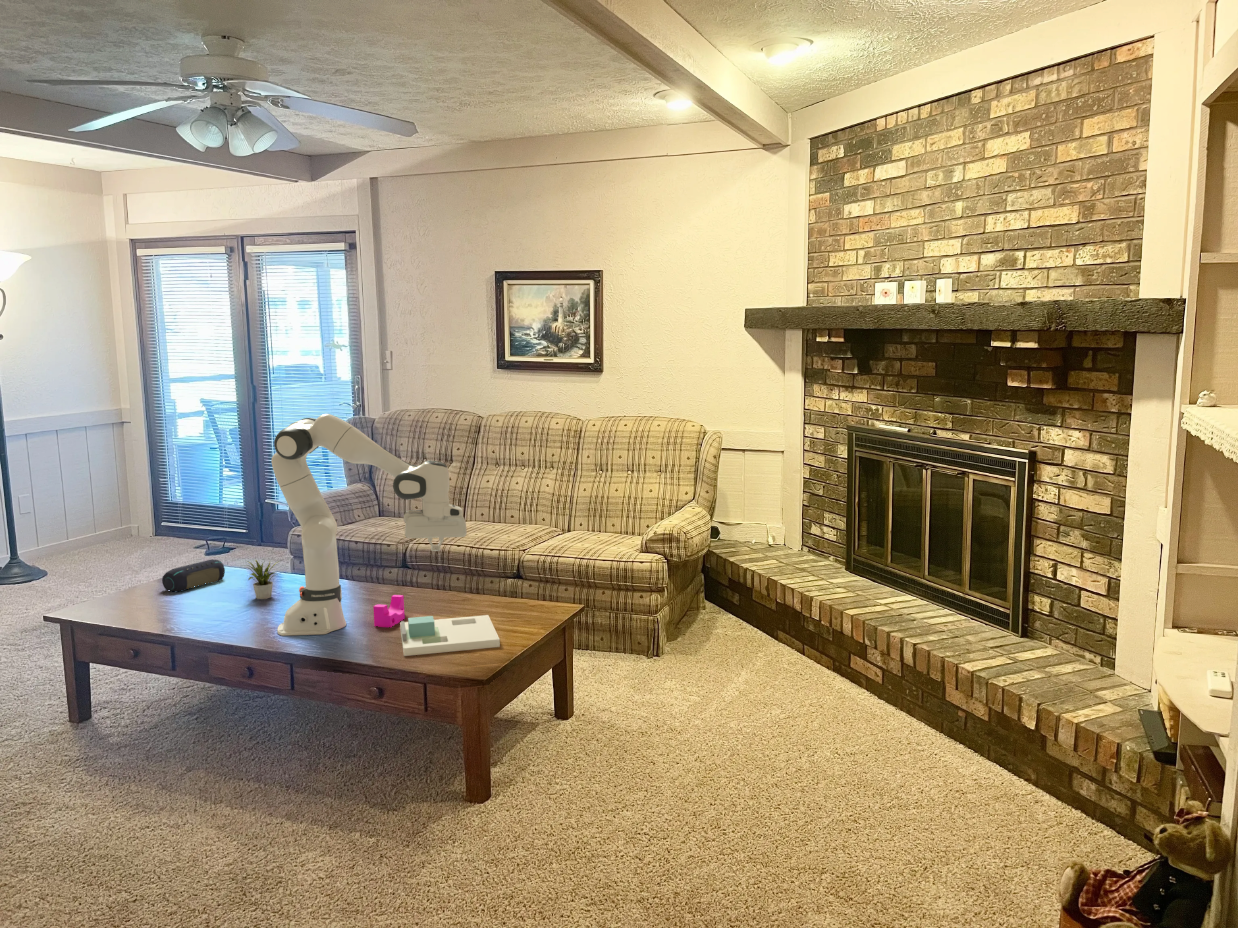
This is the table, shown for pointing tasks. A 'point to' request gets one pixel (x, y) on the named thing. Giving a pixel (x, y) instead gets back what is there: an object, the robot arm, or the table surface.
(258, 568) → the house plant
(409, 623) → the teal block
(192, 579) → the portable speaker
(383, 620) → the toy block
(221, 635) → the table surface
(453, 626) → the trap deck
